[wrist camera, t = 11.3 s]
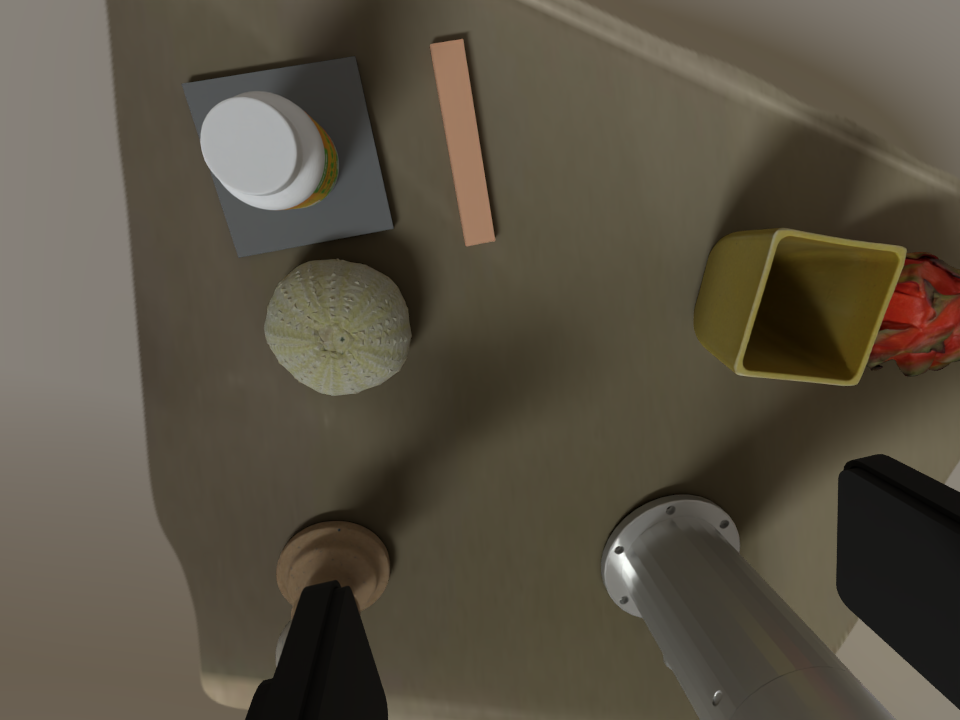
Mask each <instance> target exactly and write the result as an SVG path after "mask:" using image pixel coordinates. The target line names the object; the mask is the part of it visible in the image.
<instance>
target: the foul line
mask: <svg viewBox="0 0 960 720" xmlns="http://www.w3.org/2000/svg"><path fill="white" fill-rule="evenodd" d="M430 51H431V57H432V62H433V68H434V73H435V79H436V85H437V90H438V96H439V101H440V107H441V112H442V118H443V124H444V129H445V135H446V140H447V146H448V151H449V157H450V163H451V168H452V174H453V179H454V185H455V190H456V196H457V202H458V207H459V213H460V218H461V224H462V230H463V235H464V241H465V246H471V245H476V244H481V243H486V242H492V241H495V236H494V230H493V223H492V217H491V211H490V205H489V198H488V192H487V186H486V180H485V173H484V167H483V161H482V155H481V148H480V142H479V136H478V129H477V123H476V117H475V111H474V104H473V98H472V92H471V86H470V79H469V73H468V67H467V61H466V54H465V48H464V42H463V39H459V40H453V41H446V42H440V43H434V44H430Z"/></svg>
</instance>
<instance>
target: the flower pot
mask: <svg viewBox="0 0 960 720" xmlns="http://www.w3.org/2000/svg"><path fill="white" fill-rule="evenodd" d="M906 252H907V249H906V248H905V247H903V246H898V245H891V244H882V243H873V242H866V241H858V240H851V239H845V238H838V237H833V236H827V235H821V234H816V233H810V232H804V231H799V230H794V229H789V228H773V229H760V230H748V231H738V232H734V233H731V234H728V235H726V236H724V237H723V238H721V239H720V240H719V241H718V242H717V243H716V245H715V246H714V247H713V249H712V251H711V252H710V254H709V257H708V261H707V265H706V268H705V272H704V276H703V280H702V284H701V288H700V291H699V295H698V298H697V302H696V305H695V309H694V330H695V333H696V336H697V338H698V340H699V341H700V343H701V344H702V345H703V346H704V347H705V348H706V349H707V350H708V351H709V352H710V353H711V354H713V355H714V356H715V357H716V358H717V359H719V360H720V361H721V362H722V363H723V364H725V365H726V366H727V367H728V368H730V369H731V370H732V371H733V372H735V373H736V374H738V375H741V376H749V377H760V378H770V379H782V380H791V381H803V382H812V383H822V384H830V385H839V386H852V385H857V384H858V382H859V381H860V379H861V376H862V374H863V372H864V369H865V367H866V364H867V362H868V359H869V356H870V353H871V350H872V347H873V345H874V342H875V339H876V337H877V334H878V331H879V329H880V326H881V323H882V320H883V318H884V315H885V313H886V310H887V307H888V305H889V302H890V300H891V297H892V295H893V293H894V290H895V287H896V285H897V282H898V280H899V277H900V274H901V271H902V269H903V266H904V263H905V258H906Z"/></svg>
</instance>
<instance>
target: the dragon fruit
mask: <svg viewBox="0 0 960 720" xmlns="http://www.w3.org/2000/svg"><path fill="white" fill-rule="evenodd" d="M892 359H894V360H896V362H897V365H898V367H899V369H900V370H901V371H902V372H903V373H904V375H905V376H907V377H911V376H917V375H920V374H923V373H925V372H926V371H927V370H928V369H929V370H933V371H938V370H941V369H943V368H944V367H946V366H947V365H949V364H950V363H951V362H956V361H960V270H959V269H955V268H954V267H952V266H950V265H948V264H946V263H945V262H944V261H942V260H939V259H938V257H936V256H935V255H932V254H930V253H926V252H914V253H906V258H905V263H904V266H903V269H902V271H901V274H900V277H899V280H898V282H897V285H896V287H895V290H894V293H893V295H892V297H891V300H890V302H889V305H888V307H887V310H886V313H885V315H884V318H883V320H882V323H881V326H880V329H879V331H878V334H877V337H876V339H875V342H874V345H873V347H872V350H871V353H870V356H869V359H868V362H867V364H866V365H867V366H868V367H869V368H870V369H871V370H879V369H881V368H882V367H883V366H880V365H878V364H881V363H883V362H886V361H889V360H892Z"/></svg>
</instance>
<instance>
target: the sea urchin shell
mask: <svg viewBox="0 0 960 720" xmlns="http://www.w3.org/2000/svg"><path fill="white" fill-rule="evenodd" d="M267 311H268V312H267V317H266V321H265V326H264V330H265V336H266V340H267V344H269V346H270V348H271V350H272V351H273V352H274V354H275V355H276V357H277V359H278V361H279V363H280V364H282V365H283V366H284V367H285V368H286V369H287V370H288V371H289V372H290V373H291V374H292V375H293V376H294V378H295V379H298V381H299V382H302V383H303V384H305V385H307V386H308V387H311V388H312V389H314V390H316V391H318V392H319V393H320V394H321V393H323V394H328V395H332V396H334V395H345V394H357V393H359V392H360V391H363V390H365V389H368V388H371V387H374V386H377V385H380V384H381V383H383V382H384V381H386V380H388V379H389V378H390V377H391V376H393V375H394V374H395V373H397V372H399V371H400V369H401V367H402V366H403V364H404V363H405V361H406V360H407V355H408V352H409V346H410V341H411V337H412V334H411V328H410V323H409V313H408V308H407V306H406V303H405V300H404V298H403V296H402V294H401V292H400V290H399V288H398V287H397V285H396V284H395V283H394V282H393V281H392V280H391V279H390V278H389V277H388V276H386V275H384V274H383V273H380V272H378V271H376V270H375V269H373V268H371V267H369V266H367V265H363V264H361V263H353V262H349V261H345V260H339V259H338V258H337V259H330V260H314V261H309V262H306V263H304V264H301V265H299V266H298V267H297V268H295V269H294V270H293V271H292V272H291V273H289V275H288V276H286V277H285V278H284V279H283V280H282V281H280V282H279V284H278V286H277V287H276V289H275V292H274V295H273V297H272V299H270V304H269V305H268V307H267Z"/></svg>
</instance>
